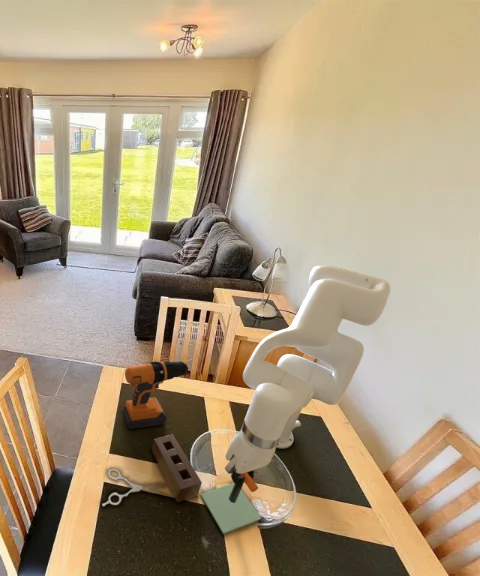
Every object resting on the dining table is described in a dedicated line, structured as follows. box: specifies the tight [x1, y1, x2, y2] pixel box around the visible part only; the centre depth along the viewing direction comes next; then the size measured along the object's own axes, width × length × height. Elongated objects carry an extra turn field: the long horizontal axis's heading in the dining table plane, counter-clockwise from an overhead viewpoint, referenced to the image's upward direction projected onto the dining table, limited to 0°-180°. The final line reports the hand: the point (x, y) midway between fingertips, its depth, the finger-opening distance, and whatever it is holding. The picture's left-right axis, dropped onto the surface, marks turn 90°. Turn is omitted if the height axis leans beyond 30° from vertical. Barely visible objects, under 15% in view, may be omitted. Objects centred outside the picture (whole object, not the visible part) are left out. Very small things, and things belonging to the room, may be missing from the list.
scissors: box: [101, 468, 144, 507], centre depth 89 cm, size 11×1×20 cm
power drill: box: [122, 360, 191, 429], centre depth 106 cm, size 22×7×25 cm, turn 101°
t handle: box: [229, 459, 259, 503], centre depth 81 cm, size 2×8×12 cm, turn 18°
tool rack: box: [151, 433, 203, 503], centre depth 93 cm, size 7×16×6 cm, turn 18°
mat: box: [200, 482, 262, 535], centre depth 86 cm, size 12×10×1 cm
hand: (240, 480), depth 80 cm, fingers closed on t handle, 2 cm apart
